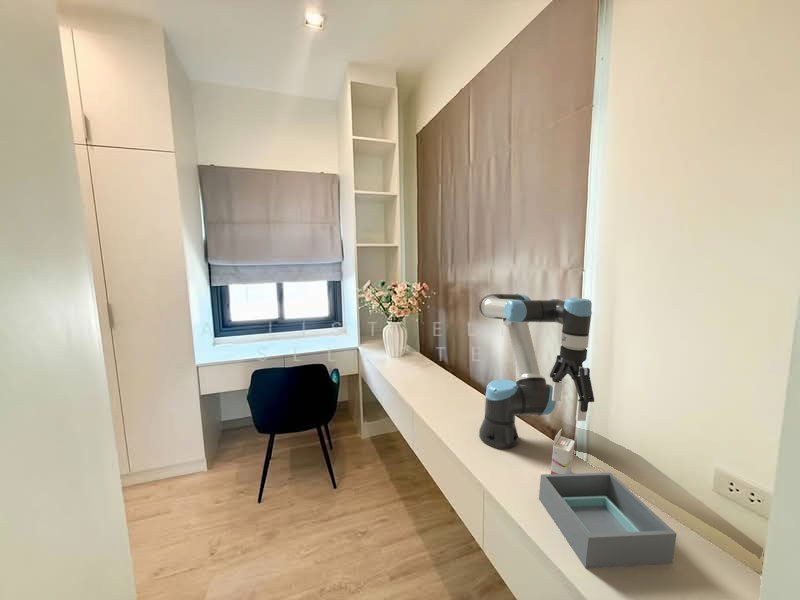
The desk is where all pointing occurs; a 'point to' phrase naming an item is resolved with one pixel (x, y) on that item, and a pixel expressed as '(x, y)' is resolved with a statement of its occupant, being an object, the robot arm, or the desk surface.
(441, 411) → the desk surface
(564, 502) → the grey square tray
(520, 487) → the desk surface
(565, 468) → the ink cartridge box
